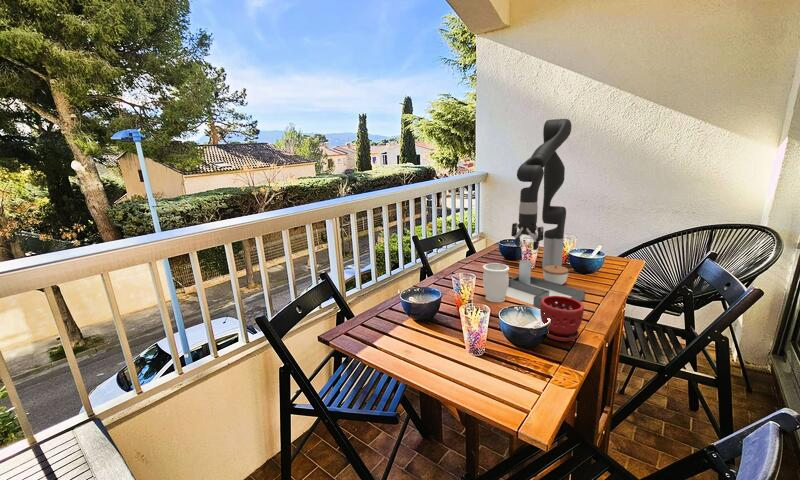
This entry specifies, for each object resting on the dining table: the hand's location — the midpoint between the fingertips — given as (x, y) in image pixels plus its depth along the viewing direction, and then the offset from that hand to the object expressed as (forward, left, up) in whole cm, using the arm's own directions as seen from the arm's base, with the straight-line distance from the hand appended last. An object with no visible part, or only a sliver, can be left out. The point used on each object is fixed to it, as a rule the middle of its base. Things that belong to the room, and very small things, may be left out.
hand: (526, 247), depth 152 cm
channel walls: (+4, +10, -19) cm, 21 cm away
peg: (0, 0, -19) cm, 19 cm away
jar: (+20, -1, -20) cm, 28 cm away
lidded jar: (-14, +7, -20) cm, 25 cm away
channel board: (+4, +10, -19) cm, 22 cm away
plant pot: (+27, +31, -20) cm, 45 cm away
